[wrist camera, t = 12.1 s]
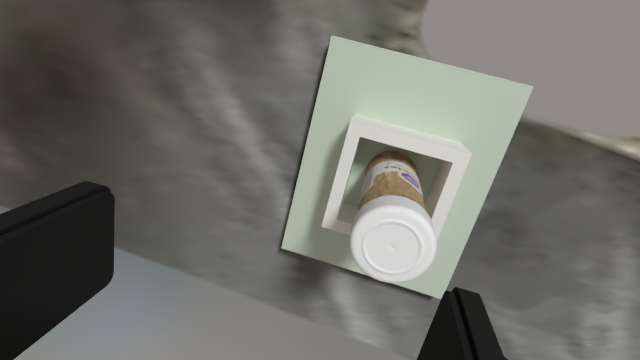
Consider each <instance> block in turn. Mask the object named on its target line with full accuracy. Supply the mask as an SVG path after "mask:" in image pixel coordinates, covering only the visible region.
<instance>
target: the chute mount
mask: <svg viewBox="0 0 640 360" xmlns="http://www.w3.org/2000/svg"><path fill="white" fill-rule="evenodd" d="M532 89H533V86H529V85H525V84H521V83H517V82H513V81H509V80H506V79H502V78H498V77H494V76H490V75H486V74H482V73H478V72H474V71H470V70H466V69H462V68H458V67H454V66H450V65H446V64H443V63H439V62H435V61H431V60H427V59H423V58H419V57H415V56H411V55H407V54H403V53H399V52H395V51H391V50H387V49H383V48H379V47H376V46H372V45H368V44H364V43H360V42H356V41H352V40H348V39H344V38H340V37H336V36H331V40H330V45H329V49H328V53H327V57H326V61H325V66H324V70H323V74H322V78H321V83H320V87H319V91H318V95H317V99H316V104H315V108H314V112H313V116H312V121H311V125H310V129H309V133H308V137H307V142H306V146H305V150H304V154H303V159H302V163H301V167H300V171H299V175H298V180H297V184H296V188H295V192H294V196H293V201H292V205H291V209H290V213H289V218H288V222H287V226H286V230H285V234H284V239H283V243H282V247H281V248H282V249H285V250H289V251H292V252H295V253H298V254H301V255H304V256H307V257H311V258H314V259H317V260H320V261H323V262H326V263H329V264H333V265H336V266H339V267H342V268H345V269H348V270H351V271H355V272H358V273H361V274H364V275H367V274H366V273H364V272H363V271H362V270H361V269H360V268H359V267H358V265H357V264H356V263H355V261H354V259H353V257H352V254H351V251H350V243H349V240H350V232H351V227H352V223H353V220H354V217H355V215H356V214H357V212H358V206H359V201H360V197H361V192H362V187H363V182H364V179H365V170H366V168H367V165H368V163H369V162H370V161H371V160H372V159H373V158H374V157H375V156H377V155H379V154H380V153H383V152H387V151H394V152H400V153H402V154H405V155H407V156H408V157H409V158H410V159H411V160H412V161H413V163H414V164H415V166H416V169H417V172H418V179H419V182H420V186H421V190H422V194H423V202H424V206H425V210H426V212H427V213H428V215H429V216H430V218H431V220H432V223H433V226H434V230H435V235H436V240H437V250H436V255H435V258H434V260H433V262H432V264H431V265H430V267H429V268H428V269H427V270H426V271H425V272H424V273H423V274H422V275H420V276H419V277H417V278H415V279H413V280H410V281H407V282H403V283H392V284H395V285H399V286H402V287H405V288H408V289H411V290H414V291H417V292H420V293H424V294H427V295H430V296H433V297H436V298H439V299H442V296H443V294H444V292H445V291H446V289H447V286H448V284H449V282H450V279H451V277H452V275H453V272H454V270H455V268H456V265H457V263H458V261H459V258H460V256H461V254H462V252H463V249H464V247H465V245H466V242H467V240H468V238H469V235H470V233H471V231H472V228H473V226H474V224H475V221H476V219H477V217H478V214H479V212H480V210H481V208H482V205H483V203H484V201H485V198H486V196H487V194H488V191H489V189H490V187H491V184H492V182H493V180H494V177H495V175H496V173H497V171H498V168H499V166H500V164H501V161H502V159H503V157H504V154H505V152H506V150H507V147H508V145H509V143H510V140H511V138H512V136H513V133H514V131H515V129H516V127H517V124H518V122H519V120H520V117H521V115H522V113H523V110H524V107H525V106H526V103H527V101H528V99H529V96H530V94H531V92H532ZM367 276H368V275H367Z"/></svg>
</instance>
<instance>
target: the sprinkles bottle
mask: <svg viewBox="0 0 640 360" xmlns="http://www.w3.org/2000/svg"><path fill="white" fill-rule="evenodd" d="M349 243H350V251H351V254H352V257H353V259H354V261H355V263H356V264H357V265H358V267H359V268H360V269H361V270H362V271H363V272H364V273H366V274H367V275H368V276H370V277H372V278H374V279H376V280H379V281H382V282H386V283H403V282H407V281H410V280H413V279H415V278H417V277H419V276H420V275H422V274H423V273H424V272H425V271H426V270H427V269H428V268H429V267H430V265H431V264H432V262H433V260H434V258H435V255H436V250H437V240H436V235H435V230H434V226H433V223H432V220H431V218H430V216H429V215H428V213H427V212H426V210H425V206H424V202H423V194H422V190H421V186H420V182H419V179H418V172H417V169H416V166H415V164H414V163H413V161H412V160H411V159H410V158H409V157H408V156H407V155H405V154H402V153H400V152H394V151H387V152H383V153H380V154H379V155H377V156H375V157H374V158H373V159H372V160H371V161H370V162H369V163H368V165H367V168H366V170H365V179H364V182H363V187H362V192H361V197H360V201H359V206H358V212H357V214H356V215H355V217H354V220H353V223H352V227H351V232H350V240H349Z"/></svg>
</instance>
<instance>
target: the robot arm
mask: <svg viewBox="0 0 640 360" xmlns="http://www.w3.org/2000/svg"><path fill="white" fill-rule="evenodd" d="M114 204H115V199H114V196H113V194H112V193H111V191H110V189H109V188H108V187H106V186H103V185H99V184H96V183H92V182H88V181H85V182H82V183H79V184H76V185H74V186H71V187H69V188H66V189H64V190H61V191H59V192H56V193H53V194H51V195H48V196H46V197H43V198H41V199H38V200H35V201H33V202H30V203H28V204H25V205H23V206H20V207H18V208H15V209H12V210H10V211H7V212H5V213H2V214H0V360H13V359H15V358H16V357H17V356H18V355H20V354H21V353H22V352H23V351H24V350H26V349H27V348H29V347H30V346H31V345H32V344H34V343H35V342H36V341H37V340H39V339H40V338H41V337H42V336H44V335H45V334H46V333H47V332H49V331H50V330H51V329H52V328H54V327H55V326H56V325H58V324H59V323H60V322H61V321H63V320H64V319H65V318H67V317H68V316H69V315H70V314H71V313H73V312H74V311H75V310H77V309H78V308H79V307H80V306H82V305H83V304H84V303H85V302H87V301H88V300H89V299H90V298H92V297H93V296H94V295H95V294H97V293H98V292H99V291H101V290H102V289H103V288H104V287H106V286H107V285H108V284H109V282H110V281H111V279H112V276H113V272H114ZM417 360H508V359H506V358H505V357H504V356H503V353H502V351H501V348H500V345H499V343H498V340H497V338H496V335H495V333H494V330H493V327H492V325H491V322H490V320H489V317H488V314H487V312H486V309H485V307H484V304H483V302H482V299H481V297H480V295H479V294H478V293H475V292H471V291H468V290H464V289H461V288H457V287H455V288H454V289H453V290H452V292H451V291H445V292H444V294H443V296H442V299H441V301H440V304H439V306H438V309H437V311H436V313H435V316H434V318H433V321H432V323H431V326H430V328H429V331H428V333H427V336H426V338H425V341H424V343H423V346H422V348H421V351H420V353H419V355H418V358H417Z"/></svg>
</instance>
